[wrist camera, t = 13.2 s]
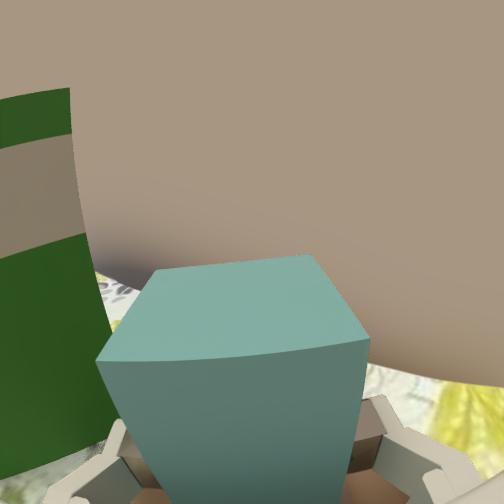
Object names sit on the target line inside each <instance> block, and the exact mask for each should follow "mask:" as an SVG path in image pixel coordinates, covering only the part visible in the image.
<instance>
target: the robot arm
mask: <svg viewBox="0 0 504 504" xmlns="http://www.w3.org/2000/svg"><path fill="white" fill-rule="evenodd" d="M369 469H372V470H373V471H375V472H376V473H377V474H379V475H380V476H381V477H383V478H384V479H386V480H387V481H388V482H390V483H391V484H392V485H394V486H395V487H397V488H398V489H400V490H401V491H402V492H404V493H405V494H407V495H408V496H410V499H409V500H408V502H407V503H406V504H504V470H503V471H501V472H500V473H498V474H497V475H495V476H494V477H492V478H490V479H489V480H487V481H485V482H484V481H483V479H482V478H481V476H480V474H479V473H478V471H477V470H476V468H475V466H474V465H473V463H472V462H471V460H470V459H469V457H468V456H467V454H466V453H463V452H461V451H459V450H456V449H454V448H452V447H450V446H447V445H445V444H443V443H441V442H439V441H436V440H434V439H432V438H430V437H428V436H426V435H424V434H421V433H419V432H417V431H415V430H413V429H411V428H409V427H407V428H404V427H403V426H402V424H401V422H400V420H399V419H398V417H397V415H396V413H395V412H394V410H393V408H392V406H391V405H390V403H389V401H388V399H387V398H386V396H385V395H383V394H382V395H378V396H374V397H370V398H368V399H367V398H366V399H362V402H361V408H360V414H359V419H358V424H357V429H356V434H355V439H354V444H353V448H352V453H351V457H350V461H349V466H348V470H347V474H352V473H356V472H361V471H365V470H369ZM347 474H346V475H347ZM143 488H150V489H163V488H162V487H161V485H160V484H159V482H158V481H157V479H156V478H155V476H154V475H153V473H152V472H151V470H150V468H149V467H148V465H147V463H146V462H145V460H144V459H143V457H142V455H141V453H140V452H139V450H138V448H137V447H136V445H135V443H134V441H133V439H132V438H131V436H130V434H129V432H128V430H127V428H126V426H125V425H124V423H123V421H122V419H117V420H116V421H115V422H114V424H113V426H112V429H111V431H110V434H109V436H108V439H107V441H106V444H105V446H104V449H103V451H102V454H96V455H95V456H94V457H92V458H91V459H89V460H88V461H87V462H85V463H84V464H82V465H81V466H80V467H78V468H77V469H75V470H74V471H72V472H71V473H69V474H68V475H66V476H65V477H64V478H62V479H61V480H59V481H58V482H56V483H55V484H53V485H52V486H50V487H49V488H48V491H47V493H46V495H45V497H44V500H43V502H42V504H129V503H130V502H131V501H132V500H133V499H134V498H135V497H136V496H137V495H138V494H139V493H140V492H141V491H142V490H143ZM0 504H9V503H7V502H5V501H3V500H1V499H0Z"/></svg>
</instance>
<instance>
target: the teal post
mask: <svg viewBox="0 0 504 504" xmlns="http://www.w3.org/2000/svg"><path fill="white" fill-rule="evenodd" d="M369 345H370V337H369V336H368V334H367V333H366V331H365V330H364V328H363V327H362V325H361V324H360V322H359V321H358V319H357V318H356V317H355V315H354V314H353V312H352V311H351V309H350V308H349V306H348V305H347V304H346V303H345V301H344V299H343V298H342V296H341V295H340V294H339V292H338V291H337V289H336V288H335V287H334V285H333V284H332V283H331V281H330V280H329V278H328V277H327V275H326V274H325V273H324V271H323V270H322V269H321V267H320V266H319V264H318V263H317V262H316V260H315V259H314V257H313V256H312V255H311V254H307V255H298V256H289V257H279V258H270V259H260V260H251V261H241V262H232V263H222V264H212V265H203V266H192V267H183V268H173V269H162V270H156V271H155V273H154V274H153V275H152V277H151V278H150V279H149V281H148V282H147V284H146V285H145V287H144V288H143V290H142V291H141V292H140V294H139V295H138V297H137V298H136V300H135V301H134V302H133V304H132V305H131V307H130V308H129V310H128V311H127V313H126V314H125V316H124V317H123V319H122V320H121V322H120V323H119V325H118V326H117V328H116V329H115V331H114V332H113V334H112V335H111V337H110V338H109V340H108V342H107V343H106V345H105V346H104V348H103V349H102V351H101V352H100V354H99V356H98V357H97V359H96V360H95V362H96V364H97V367H98V369H99V372H100V374H101V376H102V379H103V381H104V383H105V385H106V388H107V390H108V392H109V394H110V396H111V398H112V400H113V403H114V405H115V407H116V409H117V411H118V413H119V415H120V417H121V419H122V421H123V423H124V425H125V426H126V428H127V430H128V432H129V434H130V436H131V438H132V439H133V441H134V443H135V445H136V447H137V448H138V450H139V452H140V453H141V455H142V457H143V459H144V460H145V462H146V463H147V465H148V467H149V468H150V470H151V472H152V473H153V475H154V476H155V478H156V479H157V481H158V482H159V484H160V485H161V487H162V488H163V490H164V491H165V493H166V494H167V496H168V497H169V499H170V500H171V501H172V503H173V504H338V503H339V499H340V496H341V492H342V489H343V485H344V481H345V478H346V474H347V470H348V466H349V461H350V457H351V453H352V448H353V444H354V439H355V434H356V429H357V424H358V419H359V414H360V408H361V402H362V396H363V390H364V383H365V376H366V369H367V362H368V353H369Z"/></svg>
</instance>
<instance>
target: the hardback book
mask: <svg viewBox="0 0 504 504" xmlns="http://www.w3.org/2000/svg"><path fill="white" fill-rule="evenodd" d="M112 334H113V333H112V330H111V327H110V324H109V320H108V317H107V314H106V311H105V307H104V304H103V301H102V297H101V294H100V290H99V286H98V283H97V279H96V275H95V271H94V268H93V263H92V259H91V254H90V251H89V246H88V241H87V236H86V231H85V227H84V221H83V216H82V210H81V205H80V198H79V192H78V185H77V178H76V171H75V162H74V152H73V143H72V129H71V113H70V88H63V89H55V90H49V91H42V92H36V93H31V94H25V95H20V96H15V97H10V98H5V99H1V100H0V480H1V479H4V478H8V477H11V476H14V475H17V474H20V473H23V472H26V471H28V470H31V469H34V468H37V467H40V466H42V465H45V464H48V463H50V462H53V461H55V460H58V459H60V458H63V457H65V456H68V455H70V454H73V453H75V452H77V451H80V450H82V449H85V448H87V447H89V446H91V445H94V444H96V443H98V442H100V441H103V440H105V439H107V438H108V436H109V434H110V431H111V429H112V426H113V424H114V422H115V421H116V420H117V419H121V417H120V415H119V413H118V411H117V409H116V407H115V405H114V403H113V400H112V398H111V396H110V394H109V392H108V390H107V388H106V385H105V383H104V381H103V379H102V376H101V374H100V372H99V369H98V367H97V364H96V362H95V360H96V359H97V357H98V356H99V354H100V352H101V351H102V349H103V348H104V346H105V345H106V343H107V342H108V340H109V338H110V337H111V335H112Z"/></svg>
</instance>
